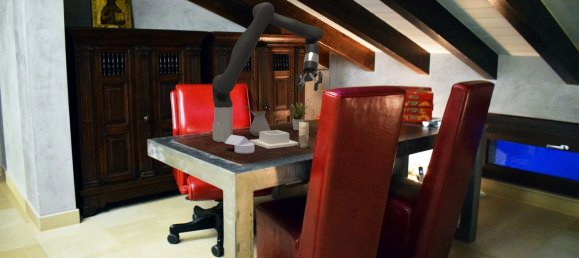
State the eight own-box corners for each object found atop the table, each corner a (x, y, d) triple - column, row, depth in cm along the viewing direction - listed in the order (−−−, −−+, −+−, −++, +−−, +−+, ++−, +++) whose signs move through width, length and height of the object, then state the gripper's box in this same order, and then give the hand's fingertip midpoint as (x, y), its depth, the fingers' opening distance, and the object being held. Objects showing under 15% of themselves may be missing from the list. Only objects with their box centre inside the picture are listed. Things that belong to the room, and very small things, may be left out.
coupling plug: (300, 148, 236) (301, 123, 234) (295, 146, 239) (295, 122, 238) (311, 147, 239) (312, 122, 237) (305, 145, 243) (306, 121, 241)
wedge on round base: (224, 150, 229) (245, 154, 221) (224, 135, 228) (245, 139, 220) (237, 147, 236) (258, 151, 228) (237, 133, 235) (258, 136, 227)
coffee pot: (274, 135, 269) (274, 108, 267) (256, 137, 263) (257, 109, 260) (253, 130, 286) (253, 104, 284) (236, 132, 279) (236, 105, 277)
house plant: (310, 131, 284) (311, 103, 282) (286, 131, 285) (287, 102, 282) (310, 127, 298) (310, 100, 296) (287, 127, 299) (287, 100, 296)
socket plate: (267, 148, 234) (267, 136, 233) (249, 142, 249) (249, 131, 248) (299, 145, 244) (299, 133, 243) (279, 139, 259) (279, 128, 258)
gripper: (295, 61, 261) (292, 89, 256) (320, 58, 254) (317, 87, 249) (302, 68, 267) (298, 95, 262) (326, 65, 261) (323, 93, 255)
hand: (307, 91), depth 255 cm, fingers open, 8 cm apart
